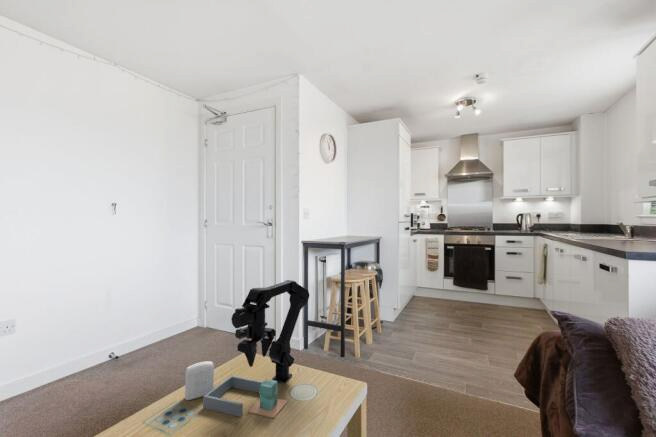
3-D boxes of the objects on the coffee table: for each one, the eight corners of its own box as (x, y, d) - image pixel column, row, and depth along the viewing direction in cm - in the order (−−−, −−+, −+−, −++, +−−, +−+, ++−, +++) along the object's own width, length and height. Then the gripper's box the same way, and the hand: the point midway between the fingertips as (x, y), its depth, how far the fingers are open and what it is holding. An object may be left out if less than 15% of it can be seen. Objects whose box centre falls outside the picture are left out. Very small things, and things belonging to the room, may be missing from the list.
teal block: (266, 401, 111) (266, 379, 111) (277, 403, 109) (277, 381, 109) (259, 408, 107) (259, 385, 107) (270, 410, 105) (270, 387, 105)
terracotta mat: (263, 396, 114) (263, 395, 114) (287, 401, 111) (287, 400, 111) (248, 412, 105) (248, 411, 105) (274, 418, 101) (274, 417, 101)
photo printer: (212, 388, 120) (212, 357, 120) (214, 393, 117) (215, 361, 117) (184, 396, 114) (184, 364, 115) (185, 402, 111) (186, 368, 111)
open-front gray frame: (231, 385, 123) (231, 375, 123) (265, 392, 117) (265, 381, 117) (203, 407, 108) (203, 396, 108) (241, 416, 102) (241, 405, 102)
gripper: (253, 312, 130) (253, 349, 129) (225, 326, 112) (225, 368, 112) (276, 315, 126) (276, 352, 125) (250, 329, 108) (250, 373, 108)
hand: (257, 361), depth 118 cm, fingers open, 9 cm apart
